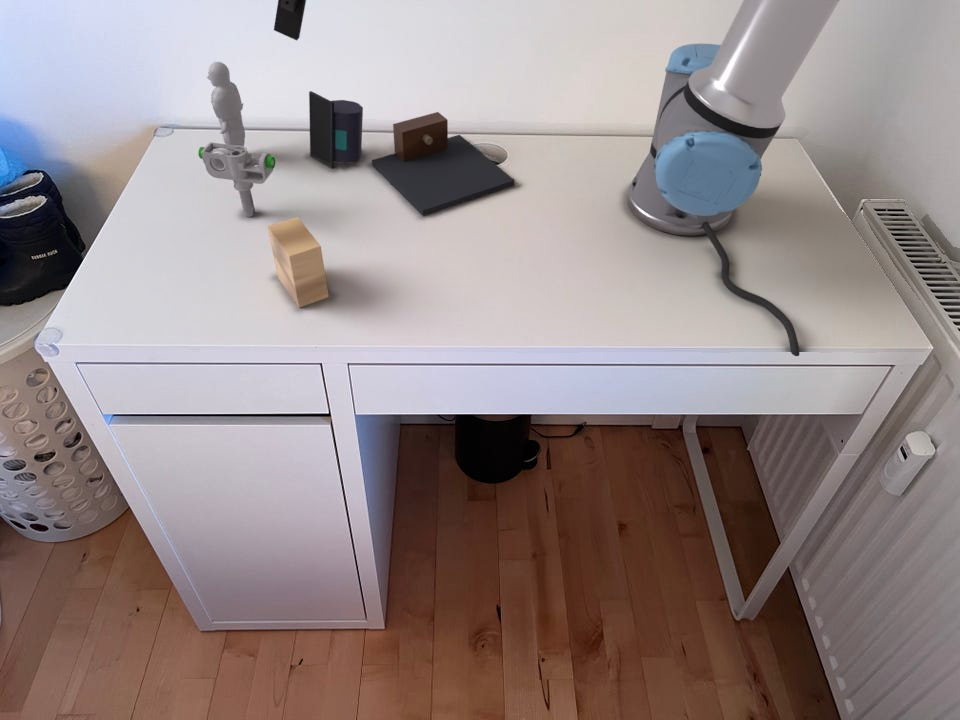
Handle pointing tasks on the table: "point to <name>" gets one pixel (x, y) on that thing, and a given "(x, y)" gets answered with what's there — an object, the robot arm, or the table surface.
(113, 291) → the table surface
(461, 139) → the mat
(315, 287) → the pad block
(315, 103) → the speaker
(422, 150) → the dark brown wooden block
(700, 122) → the robot arm
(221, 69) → the figurine
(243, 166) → the mechanical component
